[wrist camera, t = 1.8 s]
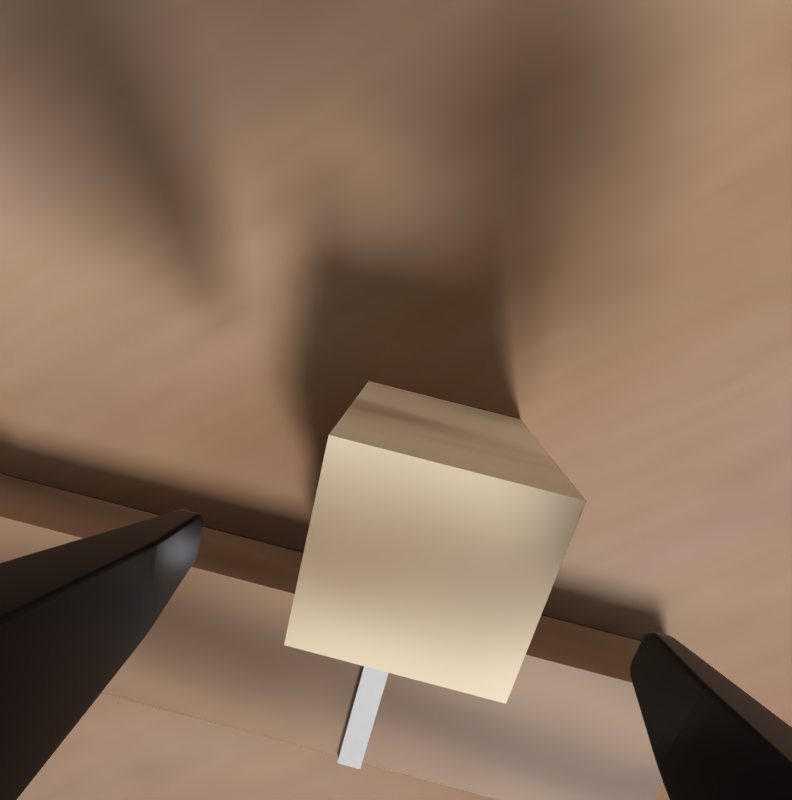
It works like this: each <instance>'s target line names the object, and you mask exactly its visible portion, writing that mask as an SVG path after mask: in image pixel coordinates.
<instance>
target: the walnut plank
mask: <svg viewBox="0 0 792 800" xmlns="http://www.w3.org/2000/svg"><path fill="white" fill-rule="evenodd" d="M156 516H159V515H156V514H153V513H149V512H145V511H141V510H137V509H133V508H130V507H126V506H122V505H118V504H114V503H110V502H107V501H103V500H99V499H95V498H91V497H88V496H84V495H80V494H76V493H72V492H68V491H65V490H61V489H57V488H53V487H49V486H45V485H42V484H38V483H34V482H30V481H26V480H23V479H19V478H15V477H11V476H7V475H3V474H0V563H2V562H5V561H8V560H12V559H15V558H18V557H22V556H25V555H29V554H32V553H35V552H39V551H42V550H45V549H49V548H52V547H55V546H59V545H62V544H65V543H69V542H72V541H76V540H79V539H82V538H86V537H89V536H92V535H96V534H99V533H102V532H106V531H109V530H112V529H116V528H119V527H123V526H126V525H129V524H133V523H136V522H139V521H143V520H146V519H149V518H153V517H156ZM302 558H303V553H302V552H298V551H294V550H290V549H286V548H283V547H279V546H275V545H271V544H267V543H263V542H260V541H256V540H252V539H248V538H244V537H241V536H237V535H233V534H229V533H225V532H221V531H218V530H214V529H210V528H206V527H202V531H201V538H200V545H199V551H198V554H197V557H196V559H195V561H194V563H193V565H192V566H191V568H190V569H189V571H188V572H187V574H186V575H185V577H184V579H183V580H182V582H181V583H180V585H179V586H178V588H177V589H176V591H175V592H174V594H173V596H172V597H171V599H170V600H169V602H168V603H167V605H166V606H165V608H164V609H163V611H162V613H161V614H160V616H159V617H158V619H157V620H156V622H155V623H154V625H153V626H152V628H151V629H150V631H149V632H148V634H147V635H146V636H145V638H144V639H143V640H142V642H141V643H140V644H139V646H138V647H137V648H136V649H135V651H134V652H133V653H132V654H131V656H130V657H129V658H128V659H127V661H126V662H125V663H124V665H123V666H122V667H121V668H120V670H119V671H118V672H117V673H116V675H115V676H114V677H113V678H112V680H111V681H110V682H109V683H108V685H107V686H106V687H105V688H104V690H103V691H102V692H101V693H103V694H107V695H111V696H115V697H118V698H122V699H126V700H129V701H133V702H137V703H141V704H144V705H148V706H152V707H155V708H159V709H163V710H167V711H170V712H174V713H178V714H182V715H185V716H189V717H193V718H196V719H200V720H204V721H208V722H211V723H215V724H219V725H222V726H226V727H230V728H234V729H237V730H241V731H245V732H248V733H252V734H256V735H260V736H263V737H267V738H271V739H274V740H278V741H282V742H286V743H289V744H293V745H297V746H300V747H304V748H308V749H312V750H315V751H319V752H323V753H326V754H330V755H334V756H338V762H337V763H339V764H343V765H346V766H350V767H354V768H357V769H360V768H361V764H362V763H364V764H367V765H371V766H375V767H379V768H382V769H386V770H390V771H393V772H397V773H401V774H405V775H408V776H412V777H416V778H419V779H423V780H427V781H431V782H434V783H438V784H442V785H445V786H449V787H453V788H457V789H460V790H464V791H468V792H471V793H475V794H479V795H483V796H486V797H490V798H494V799H497V800H653V798H654V797H655V795H656V793H657V791H658V789H659V788H660V786H661V784H662V782H663V780H662V778H661V775H660V772H659V769H658V766H657V763H656V760H655V757H654V754H653V750H652V747H651V744H650V740H649V737H648V734H647V730H646V727H645V724H644V720H643V717H642V714H641V710H640V707H639V703H638V700H637V697H636V693H635V690H634V687H633V683H632V680H631V675H630V666H631V662H632V660H633V658H634V655H635V653H636V651H637V649H638V647H639V645H640V643H641V641H638V640H634V639H631V638H627V637H623V636H619V635H615V634H611V633H608V632H604V631H600V630H596V629H592V628H589V627H585V626H581V625H577V624H573V623H569V622H566V621H562V620H558V619H554V618H550V617H546V616H543V615H541V617H540V619H539V622H538V624H537V627H536V630H535V632H534V635H533V637H532V640H531V642H530V645H529V647H528V650H527V652H526V655H525V657H524V660H523V662H522V665H521V667H520V670H519V672H518V675H517V677H516V680H515V683H514V685H513V688H512V690H511V693H510V695H509V698H508V700H507V703H506V704H505V703H501V702H497V701H494V700H490V699H486V698H482V697H478V696H475V695H471V694H467V693H463V692H460V691H456V690H452V689H448V688H444V687H441V686H437V685H433V684H429V683H426V682H422V681H418V680H414V679H410V678H407V677H403V676H399V675H395V674H392V673H388V672H384V671H380V670H376V669H373V668H369V667H365V666H361V665H357V664H354V663H350V662H346V661H342V660H339V659H335V658H331V657H327V656H323V655H320V654H316V653H312V652H308V651H305V650H301V649H297V648H293V647H289V646H286V645H284V642H285V638H286V633H287V628H288V624H289V619H290V614H291V609H292V605H293V600H294V595H295V591H296V586H297V581H298V577H299V572H300V567H301V562H302Z"/></svg>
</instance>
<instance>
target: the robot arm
mask: <svg viewBox="0 0 792 800" xmlns="http://www.w3.org/2000/svg"><path fill="white" fill-rule="evenodd" d="M202 524H203V518H202V515H201V514H200V513H196V512H192V511H189V510H185V509H180V510H176V511H173V512H169V513H166V514H163V515H159V516H156V517H153V518H149V519H146V520H143V521H139V522H136V523H133V524H129V525H126V526H123V527H119V528H116V529H112V530H109V531H106V532H102V533H99V534H96V535H92V536H89V537H86V538H82V539H79V540H76V541H72V542H69V543H65V544H62V545H59V546H55V547H52V548H49V549H45V550H42V551H39V552H35V553H32V554H29V555H25V556H22V557H18V558H15V559H12V560H8V561H5V562H2V563H0V800H17V798H18V797H19V796H20V795H21V793H22V792H23V791H24V789H25V788H26V787H27V786H28V784H29V783H30V782H31V781H32V779H33V778H34V777H35V776H36V774H37V773H38V772H39V771H40V769H41V768H42V767H43V765H44V764H45V763H46V762H47V760H48V759H49V758H50V757H51V755H52V754H53V753H54V752H55V750H56V749H57V748H58V747H59V745H60V744H61V743H62V742H63V740H64V739H65V738H66V736H67V735H68V734H69V733H70V731H71V730H72V729H73V728H74V726H75V725H76V724H77V723H78V721H79V720H80V719H81V718H82V716H83V715H84V714H85V712H86V711H87V710H88V709H89V707H90V706H91V705H92V704H93V702H94V701H95V700H96V699H97V697H98V696H99V695H100V694H101V692H102V691H103V690H104V688H105V687H106V686H107V685H108V683H109V682H110V681H111V680H112V678H113V677H114V676H115V675H116V673H117V672H118V671H119V670H120V668H121V667H122V666H123V665H124V663H125V662H126V661H127V659H128V658H129V657H130V656H131V654H132V653H133V652H134V651H135V649H136V648H137V647H138V646H139V644H140V643H141V642H142V640H143V639H144V638H145V636H146V635H147V634H148V632H149V631H150V629H151V628H152V626H153V625H154V623H155V622H156V620H157V619H158V617H159V616H160V614H161V613H162V611H163V609H164V608H165V606H166V605H167V603H168V602H169V600H170V599H171V597H172V596H173V594H174V592H175V591H176V589H177V588H178V586H179V585H180V583H181V582H182V580H183V579H184V577H185V575H186V574H187V572H188V571H189V569H190V568H191V566H192V565H193V563H194V561H195V559H196V557H197V554H198V551H199V545H200V538H201V531H202ZM630 675H631V680H632V683H633V687H634V690H635V693H636V697H637V700H638V703H639V707H640V710H641V714H642V717H643V720H644V724H645V727H646V730H647V734H648V737H649V740H650V744H651V747H652V750H653V754H654V757H655V760H656V763H657V766H658V769H659V772H660V775H661V778H662V780H663V783H664V786H665V788H666V791H667V794H668V796H669V799H670V800H792V727H790V726H789V725H788V724H786V723H785V722H784V721H782V720H781V719H780V718H779V717H777V716H776V715H775V714H773V713H772V712H771V711H769V710H768V709H767V708H765V707H764V706H763V705H761V704H760V703H759V702H757V701H756V700H755V699H754V698H752V697H751V696H750V695H748V694H747V693H746V692H744V691H743V690H742V689H740V688H739V687H738V686H736V685H735V684H734V683H732V682H731V681H730V680H729V679H727V678H726V677H725V676H723V675H722V674H721V673H719V672H718V671H717V670H715V669H714V668H713V667H711V666H710V665H709V664H707V663H706V662H705V661H704V660H702V659H701V658H700V657H698V656H697V655H696V654H694V653H693V652H692V651H690V650H689V649H688V648H686V647H685V646H684V645H682V644H681V643H680V642H679V641H677V640H676V639H674V638H673V637H671V636H669V635H665V634H661V633H657V632H653V631H651V632H647V633H646V634H645V635H644V637H643V639H642V641H641V643H640V645H639V647H638V649H637V651H636V653H635V655H634V658H633V660H632V662H631V666H630Z"/></svg>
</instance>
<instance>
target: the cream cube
mask: <svg viewBox="0 0 792 800" xmlns="http://www.w3.org/2000/svg"><path fill="white" fill-rule="evenodd" d="M585 503H586V500H585V499H584V497H583V496H582V495H581V494H580V492H579V491H578V490H577V489H576V487H575V486H574V485H573V484H572V482H571V481H570V480H569V479H568V477H567V476H566V475H565V474H564V472H563V471H562V470H561V469H560V468H559V466H558V465H557V464H556V463H555V461H554V460H553V459H552V458H551V456H550V455H549V454H548V453H547V451H546V450H545V449H544V448H543V446H542V445H541V444H540V443H539V441H538V440H537V439H536V438H535V436H534V435H533V434H532V433H531V431H530V430H529V429H528V428H527V426H526V425H525V424H524V423H523V421H522V420H521V419H517V418H513V417H509V416H505V415H501V414H497V413H493V412H489V411H485V410H481V409H477V408H473V407H469V406H466V405H462V404H458V403H454V402H450V401H446V400H442V399H438V398H434V397H430V396H426V395H422V394H418V393H414V392H410V391H406V390H403V389H399V388H395V387H391V386H387V385H383V384H379V383H375V382H371V381H368V383H367V384H366V385H365V387H364V388H363V389H362V391H361V392H360V393H359V395H358V396H357V397H356V399H355V400H354V401H353V403H352V404H351V405H350V407H349V408H348V409H347V411H346V412H345V414H344V415H343V416H342V418H341V419H340V420H339V422H338V423H337V424H336V426H335V427H334V428H333V430H332V431H331V432H330V434H329V436H328V440H327V445H326V450H325V454H324V459H323V464H322V468H321V473H320V478H319V483H318V487H317V492H316V497H315V501H314V506H313V511H312V515H311V520H310V525H309V530H308V534H307V539H306V544H305V548H304V553H303V558H302V562H301V567H300V572H299V577H298V581H297V586H296V591H295V595H294V600H293V605H292V609H291V614H290V619H289V624H288V628H287V633H286V638H285V642H284V645H286V646H289V647H293V648H297V649H301V650H305V651H308V652H312V653H316V654H320V655H323V656H327V657H331V658H335V659H339V660H342V661H346V662H350V663H354V664H357V665H361V666H365V667H369V668H373V669H376V670H380V671H384V672H388V673H392V674H395V675H399V676H403V677H407V678H410V679H414V680H418V681H422V682H426V683H429V684H433V685H437V686H441V687H444V688H448V689H452V690H456V691H460V692H463V693H467V694H471V695H475V696H478V697H482V698H486V699H490V700H494V701H497V702H501V703H505V704H506V703H507V700H508V698H509V695H510V693H511V690H512V688H513V685H514V683H515V680H516V677H517V675H518V672H519V670H520V667H521V665H522V662H523V660H524V657H525V655H526V652H527V650H528V647H529V645H530V642H531V640H532V637H533V635H534V632H535V630H536V627H537V624H538V622H539V619H540V617H541V614H542V612H543V609H544V607H545V604H546V602H547V599H548V597H549V594H550V592H551V589H552V587H553V584H554V582H555V579H556V576H557V574H558V571H559V569H560V566H561V564H562V561H563V559H564V556H565V554H566V551H567V549H568V546H569V544H570V541H571V539H572V536H573V534H574V531H575V529H576V526H577V523H578V521H579V518H580V516H581V513H582V511H583V508H584V506H585Z"/></svg>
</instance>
